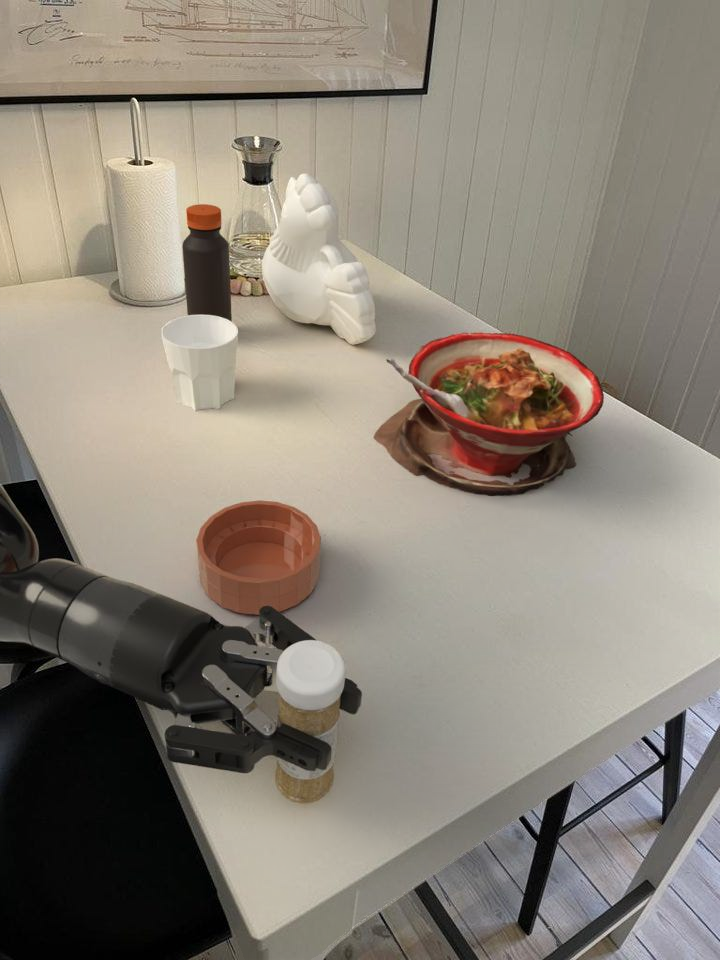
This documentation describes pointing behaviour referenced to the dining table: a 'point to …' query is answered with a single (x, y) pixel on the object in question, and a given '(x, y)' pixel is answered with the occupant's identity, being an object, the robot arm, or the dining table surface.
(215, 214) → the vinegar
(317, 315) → the decorative rooster
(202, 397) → the cup
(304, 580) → the bowl
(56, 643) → the robot arm
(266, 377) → the dining table surface
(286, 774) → the sprinkles bottle
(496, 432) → the stew
